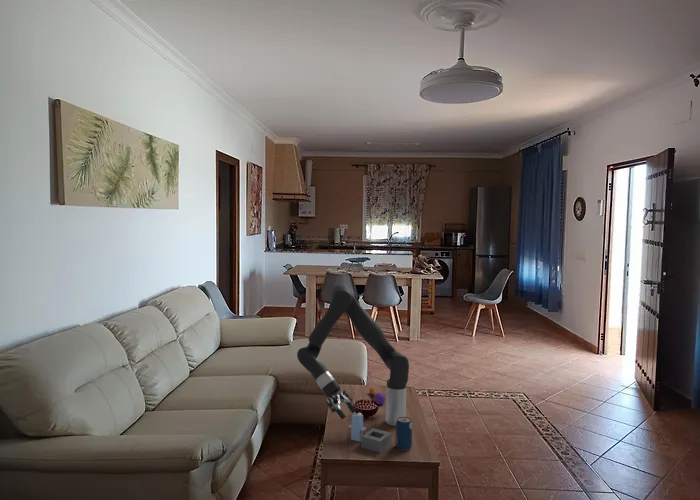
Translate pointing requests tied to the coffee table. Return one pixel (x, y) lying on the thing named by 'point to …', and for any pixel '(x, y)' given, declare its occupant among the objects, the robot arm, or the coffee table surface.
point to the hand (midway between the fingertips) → (349, 414)
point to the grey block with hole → (376, 440)
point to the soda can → (403, 433)
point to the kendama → (377, 396)
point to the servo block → (357, 427)
